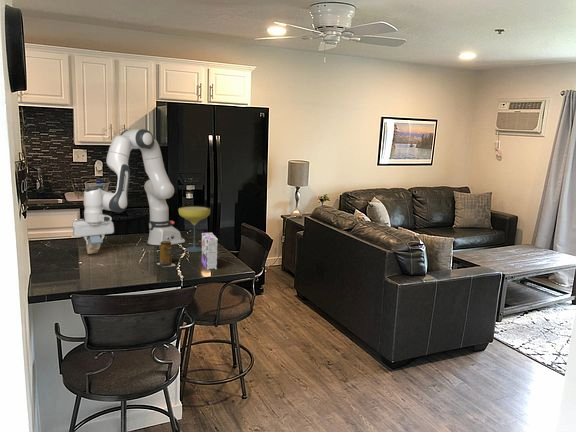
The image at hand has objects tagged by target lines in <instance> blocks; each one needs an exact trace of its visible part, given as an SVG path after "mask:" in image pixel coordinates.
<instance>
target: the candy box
mask: <svg viewBox="0 0 576 432" xmlns="http://www.w3.org/2000/svg"><path fill="white" fill-rule="evenodd" d="M218 240H219V239H218V238H217V236H216V235H214V233H213V232H201V248H202V251H201V264H202V266H203V267H204V269H205V270H206V271H210V270H212V271H213V270H214V269H215V270H218V246H219V245H218V242H219V241H218Z"/></svg>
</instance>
